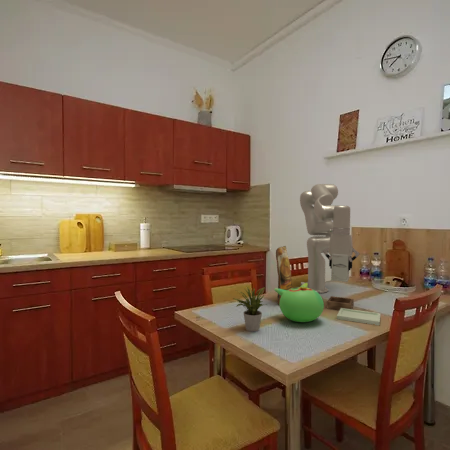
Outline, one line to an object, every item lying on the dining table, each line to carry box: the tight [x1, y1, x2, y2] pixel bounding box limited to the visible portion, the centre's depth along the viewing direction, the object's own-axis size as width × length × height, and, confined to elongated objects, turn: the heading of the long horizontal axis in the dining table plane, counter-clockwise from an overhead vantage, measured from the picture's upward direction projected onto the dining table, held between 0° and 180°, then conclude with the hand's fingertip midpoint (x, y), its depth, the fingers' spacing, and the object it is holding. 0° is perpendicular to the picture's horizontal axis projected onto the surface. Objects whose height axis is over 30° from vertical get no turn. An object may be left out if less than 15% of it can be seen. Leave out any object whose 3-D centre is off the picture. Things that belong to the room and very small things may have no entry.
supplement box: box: [330, 254, 350, 283], centre depth 144 cm, size 7×7×13 cm
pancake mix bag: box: [275, 245, 293, 306], centre depth 153 cm, size 7×19×28 cm, turn 148°
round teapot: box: [273, 282, 325, 323], centre depth 126 cm, size 18×17×15 cm
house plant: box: [232, 286, 268, 332], centre depth 117 cm, size 14×14×16 cm
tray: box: [336, 308, 381, 326], centre depth 129 cm, size 16×12×2 cm
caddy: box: [326, 295, 355, 311], centre depth 144 cm, size 10×10×4 cm
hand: (340, 268), depth 144 cm, fingers closed on supplement box, 7 cm apart
